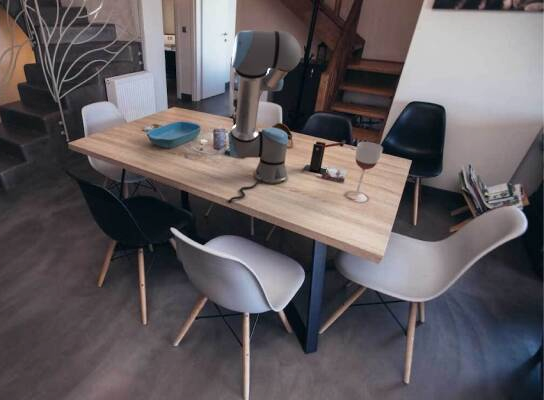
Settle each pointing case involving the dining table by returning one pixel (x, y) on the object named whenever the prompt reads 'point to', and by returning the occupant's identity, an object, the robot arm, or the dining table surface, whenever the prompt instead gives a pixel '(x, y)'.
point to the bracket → (316, 159)
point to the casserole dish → (174, 134)
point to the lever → (334, 144)
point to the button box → (229, 152)
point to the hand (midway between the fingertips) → (238, 142)
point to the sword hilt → (286, 129)
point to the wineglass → (366, 161)
